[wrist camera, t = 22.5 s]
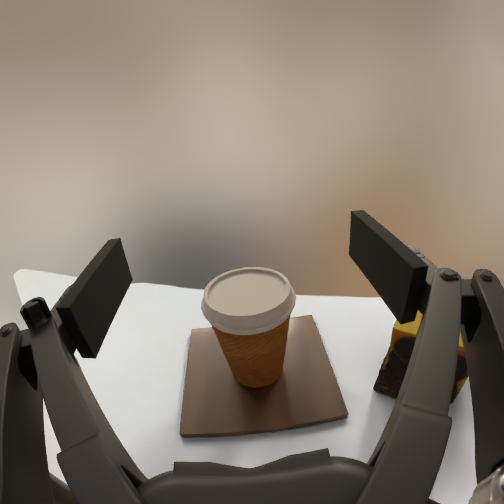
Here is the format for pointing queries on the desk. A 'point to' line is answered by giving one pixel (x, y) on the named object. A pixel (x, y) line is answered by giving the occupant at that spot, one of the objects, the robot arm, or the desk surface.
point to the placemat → (263, 398)
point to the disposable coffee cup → (251, 321)
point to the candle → (400, 358)
